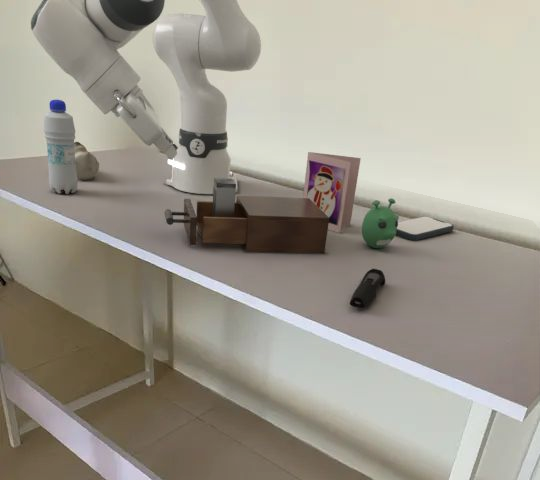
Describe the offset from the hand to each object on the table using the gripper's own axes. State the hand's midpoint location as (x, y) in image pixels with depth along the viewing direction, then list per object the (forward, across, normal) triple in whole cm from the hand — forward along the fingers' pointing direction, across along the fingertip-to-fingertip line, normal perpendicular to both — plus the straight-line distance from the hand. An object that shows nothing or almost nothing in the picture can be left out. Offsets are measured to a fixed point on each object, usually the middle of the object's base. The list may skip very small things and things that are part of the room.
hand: (172, 151), depth 110 cm
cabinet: (+27, 0, -4) cm, 27 cm away
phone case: (+52, +10, -29) cm, 60 cm away
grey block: (+17, 0, +3) cm, 17 cm away
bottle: (-4, +33, +28) cm, 44 cm away
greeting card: (+37, +13, -14) cm, 42 cm away
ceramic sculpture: (-3, +50, +26) cm, 57 cm away
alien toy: (+41, -3, -18) cm, 45 cm away
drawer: (+17, 0, +5) cm, 17 cm away
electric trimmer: (+33, -29, -10) cm, 45 cm away
